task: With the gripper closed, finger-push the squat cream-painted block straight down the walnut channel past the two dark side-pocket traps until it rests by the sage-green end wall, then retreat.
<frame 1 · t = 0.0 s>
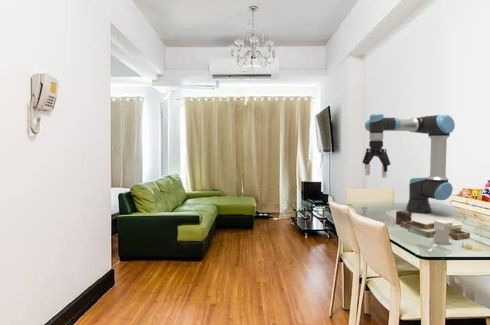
hand: (375, 176, 186), 28 cm above the table, fingers open, 13 cm apart
trap channel: (434, 231, 168), on the table
box: (403, 224, 184), on the table
block: (443, 230, 170), on the table
architectural model: (441, 244, 150), on the table
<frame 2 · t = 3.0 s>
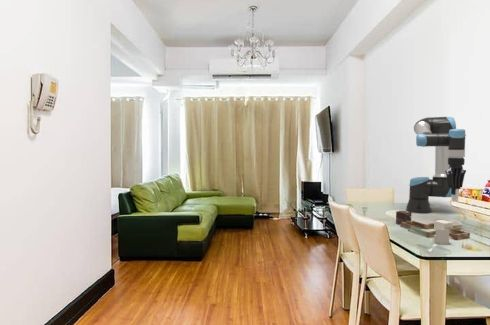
hand: (454, 200, 172), 16 cm above the table, fingers closed
nothing on the table moved.
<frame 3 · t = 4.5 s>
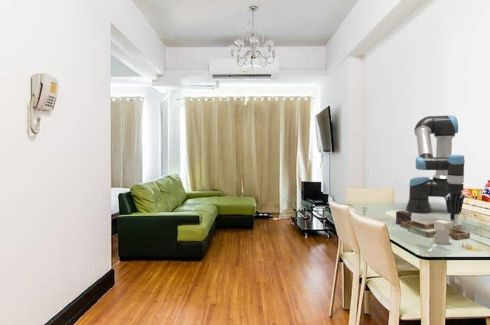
hand: (453, 225, 173), 2 cm above the table, fingers closed
nothing on the table moved.
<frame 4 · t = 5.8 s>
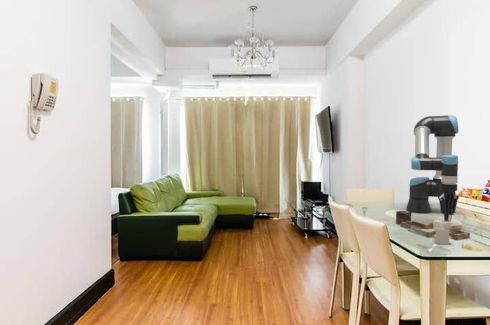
hand: (447, 226, 171), 2 cm above the table, fingers closed
block: (442, 230, 170), on the table, touching gripper
everything else where it was.
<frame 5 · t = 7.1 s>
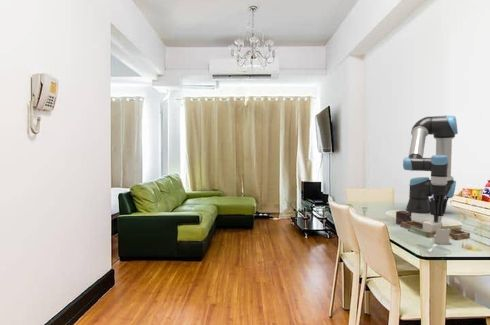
hand: (437, 227, 169), 2 cm above the table, fingers closed
block: (431, 232, 168), on the table, touching gripper
everything else where it was.
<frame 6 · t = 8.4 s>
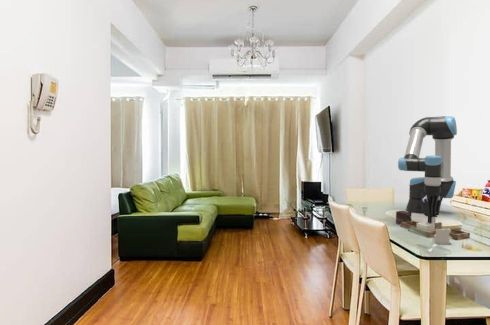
hand: (431, 228, 167), 2 cm above the table, fingers closed
block: (425, 233, 166), on the table, touching gripper
everything else where it was.
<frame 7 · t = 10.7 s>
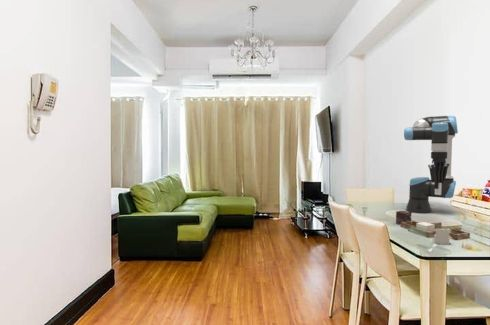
hand: (437, 194, 171), 19 cm above the table, fingers closed
block: (425, 233, 166), on the table
everything else where it was.
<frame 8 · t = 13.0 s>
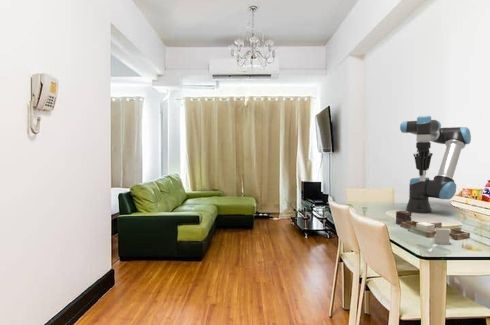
hand: (422, 180, 190), 24 cm above the table, fingers closed
nothing on the table moved.
at the end: block inside the target area (1.3 cm from its centre), on the table; block tilted 0° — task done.
